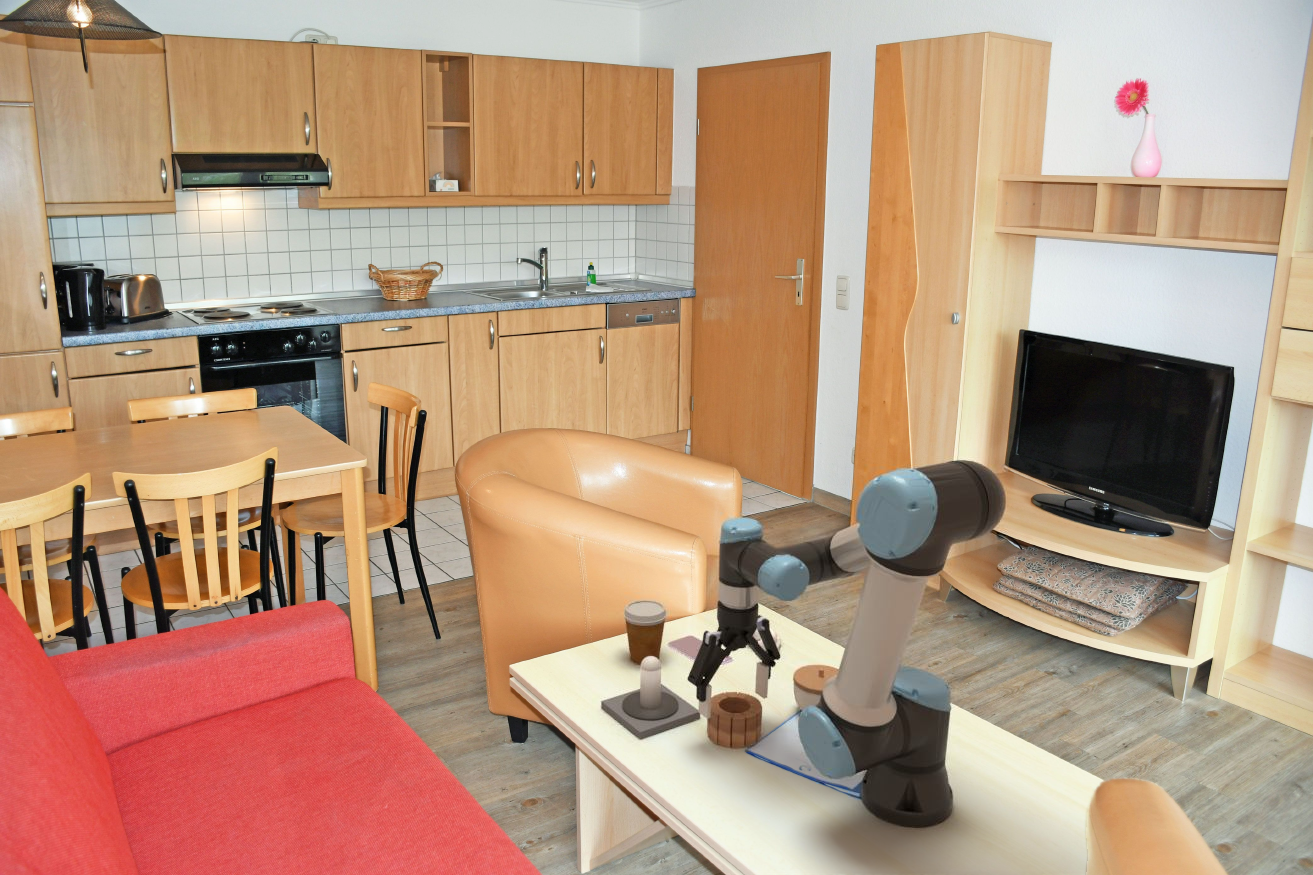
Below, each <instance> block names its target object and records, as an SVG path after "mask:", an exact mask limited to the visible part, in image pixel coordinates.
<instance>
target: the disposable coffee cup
mask: <svg viewBox="0 0 1313 875" xmlns="http://www.w3.org/2000/svg"><path fill="white" fill-rule="evenodd" d="M622 615H623V618H624V620H625V626H626V634H627V641H628V642H627V643H628V649H629V651H628V652H629V656H630V658H629V659H630V661H631V662H632V663H633V664H635V663H636V664H635V665H638V664H639V666H641V662H642V660H643V659H644V658H646V657H648V656H654V657H656V658H657V659H658V660H659V661H660V655H661V650H662V642H663V635H664V629H665V620H666V618H667V617H668V612H667V610H666V606H665V605H664V604H662V602H659V601H656V600H653V599H652V600H651V599H645V600H644V599H640V600H634V601H631V602H629V603H627V604H626V606H625V607H624V610H623V612H622Z"/></svg>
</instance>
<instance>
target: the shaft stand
mask: <svg viewBox="0 0 1313 875" xmlns="http://www.w3.org/2000/svg"><path fill="white" fill-rule="evenodd" d="M639 673H640V680H639V681H640V682H639V684H640V686H639V689H635V690H632V691H629V692H626V693H623V694H620V695H616V696H613V697H610V698H606V699H603V700H601V701H600V708H601V709H602V710H603V711H604V712H605V713H607V714H608V715H609V716H610V717H612V718H613V719H614V720H616V721H617V722H618V723H619V724H621V726H623V727H624V728H625V729H627V730H628V731H629V732H631V734H632V735H634V736H636V737H637V739H638V740H643V739H646V738H648V737H651V736H654V735H657V734H660V733H663V732H665V731H668V730H671V729H675V728H676V727H680V726H683V725H686V724H688V723H691V722H693V721H696V720H700V719H701V714H700V713H699V712H698V711H699V708H696V707H694V706H693V705H692V704H691V703H689V702H687V700H685V699H683V698H682V697H681V696H680V695H678V694H677V693H675V692H673V691H672V690H671V689H669V688H668V687H667V686H665V685H664V684H662V664H661V660H660V659H659V660H658V659H657V658H656V657H654V656H648V657H646V658H644V659H643V660H642V662H641V665H640V672H639Z"/></svg>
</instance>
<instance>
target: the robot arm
mask: <svg viewBox="0 0 1313 875" xmlns="http://www.w3.org/2000/svg"><path fill="white" fill-rule="evenodd" d="M1006 496H1007V495H1006V491H1005V488H1004V486H1003V483H1002V482H1001V480H1000V478H999V477H998V476H997V474H996V473H995V472H993V470H992V469H990V468H988V467H987V466H985V465H984V464H982V463H979V462H977V461H976V462H975V461H973V460H965V459H956V460H950V461H946V462H941V463H935V464H930V465H925V466H919V467H914V468H909V467H908V468H905V467H904V468H903V467H902V468H897V469H895V470H892V471H890V472H887V473H883V474H881V475H879V476H876V477H874V478H872V480H870V481H869V482H868V483H867V484H866V485H865V487H864V488H863V490H862V491H861V493H860V495H859V496H858V497H859V498H858V500H857V504H856V507H855V508H856V510H855V522H856V523H855V524H853V525H852V524H851V525H850V526H848V527H846V528H844V529H841V530H839V531H837V532H835V533H832V534H831V535H828V536H825V537H823V538H818V539H814V540H810V541H804V542H799V543H795V544H791V545H786V546H780V547H778V546H777V547H776V546H774V545H772V544H770V543H769V542H767V541H765V540H764V539H763V537H764V534H763V533H764V532H763V526H762V524H761V522H760V521H758V520H756V519H753V518H750V517H741V516H740V517H733V518H728V519H727V520H725V521H724V522H723V523H722V525H721V528H720V536H719V538H720V539H719V542H718V544H719V546H718V547H719V548H718V550H719V552H718V553H719V556H718V585H717V586H718V587H717V598H718V600H717V604H716V605H717V610H716V611H717V612H716V619H717V623H718V627H717V629H716V631H713V632H710V631H708V630H705V631H704V632H703V637H702V641H703V642H702V645H701V647H700V650H699V652H698V654H697V657H696V659H695V661H693V664H692V666H691V670H689V671H690V672H689V674H688V676H687V681H688V682H689V683H690V684H692V685H693V686H695V687H696V689H695V690H696V693H695V696H696V697H695V698H696V700H698V710H699V711H698V712H699V713H700V716H701V715H702V716H703V717H704V718H705V719H706V720H707V719H708V718H710V717H711V698H712V689H713V688H712V687H713V686H712V685H711V684H710V683H711V681H712V679H713V678H714V676H715V674H716V673H717V671H718V670H719V669H720V667H721V666H722V665H721V664H722V662H723V660H724V659H725V657H727V656H730V655H731V653H732V652H735V651H737V650H739V649H745V648H747V647H749V648H750V649H751V651H752V652H753V653H754V654H755V655H756V657H758V659H759V660H760V661H756V670H755V673H756V674H755V685H754V686H755V688H754V693H755V694H757V696H759V697H761V698H762V699H767V698H768V691H769V689H768V688H769V680H770V679H771V675H772V674H771V673H772V668H775V667H776V664H777V663H776V660H777V661H779V660H780V659H781V654H780V651H778V648H777V646H776V643H775V641H774V639H773V636H772V634H771V631H770V627H771V626H770V620H769V619H768V618H765V617H764V616H762V615H761V614H759V608H760V606H759V603H758V602H760V601H759V600H760V589H761V591H763V592H764V593H765V594H767V595H769V596H770V597H774V598H776V599H778V600H780V601H784V602H792V601H794V600H796V599H798V597H799V596H800V595H803V594H804V593H805V591H806V590H807V587H809V586H812V585H816V584H819V583H823V582H828V581H832V580H833V581H834V580H836V579H837V580H838V579H844V578H848V577H851V576H853V575H857V574H860V572H862V571H863V570H864V569H866V568H867V571H866V574H865V576H864V577H865V578H864V581H863V585H862V589H861V591H860V594H859V597H858V602H857V606H856V609H855V613H854V615H853V618H852V622H851V626H850V629H849V633H848V636H847V640H846V644H845V647H844V650H843V654H842V657H841V660H840V664H839V668H838V669H839V671H838V674H837V675H835V676H833V677H831V678H829V679H828V680H827V682H826V683H825V685H824V687H823V691H822V694H821V698H820V701H819V703H818V704H817V705H815V706H813V705H811V706H808V707H807V708H806V709H804V710H803V711H802V710H801V712H800V714H799V717H798V722H797V727H798V730H797V731H798V735H799V736H798V737H799V740H800V743H801V746H802V749H803V750H804V753H805V754H806V757H807V759H808V760H809V762H810V763H811V765H812V766H813V767H814V768H815V769H816V771H818V772H819V773H820V774H822V775H823V776H824V777H826V778H827V779H832V780H839V779H840V780H841V779H843V778H846V777H847V778H848V777H854V776H855V775H857V774H860V773H862V772H865V773H864V775H863V777H862V780H861V783H860V784H861V787H860V798H861V802H862V803H863V804H864V806H865V808H867V810H868V811H869V812H870V813H872V814H873V815H874V816H876V817H878V818H879V819H881V820H884V821H886V822H888V823H892V824H893V825H894V824H895V825H898V826H904V827H912V828H921V827H930V826H936V825H939V824H940V823H942V822H944V821H945V820H946V819H948V818H949V817H950V815H951V814H952V810H953V803H954V794H953V789H952V786H951V785H950V783H949V775H948V770H947V767H946V758H947V757H946V756H947V747H948V738H949V737H948V736H949V729H950V718H951V711H952V704H951V700H952V699H951V698H952V697H951V695H952V693H951V692H952V691H951V689H950V687H949V685H948V683H947V682H946V681H945V680H944V679H943V678H941V677H940V676H938V675H937V674H934V673H932V672H930V671H928V670H924V669H923V668H922V669H921V668H918V667H913V666H907V665H902V662H903V659H904V655H905V652H906V650H907V646H908V644H909V643H908V642H909V640H910V636H911V634H912V631H913V628H914V624H915V621H916V620H917V619H916V618H917V615H918V612H919V609H920V607H921V606H920V605H921V603H922V600H923V597H924V593H925V591H926V588H927V585H928V582H929V578H933V577H936V576H938V575H939V574H940V573H941V572H942V571H943V570H944V568H945V565H946V562H947V558H948V556H949V552H950V549H951V547H952V546H953V545H956V544H960V543H963V542H968V541H971V540H974V539H975V540H976V539H978V538H981V537H984V536H985V535H987V534H989V533H991V531H993V530H994V529H995V528H996V527H997V526H998V525H999V523H1000V522H1001V520H1002V518H1003V516H1004V513H1005V510H1006V504H1007V498H1006ZM756 629H757V630H758V632H759V635H760V637H761V639H762V642H763V644H764V646H765V649H766V651H764V649H763V648H762V647H761V646H760V645H759V644H758V641H759V640H756V639H755V638H754V637H753V635H754V633H755V631H756ZM722 646H723V647H724V648H722ZM720 665H721V666H720Z"/></svg>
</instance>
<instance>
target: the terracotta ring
mask: <svg viewBox="0 0 1313 875" xmlns="http://www.w3.org/2000/svg"><path fill="white" fill-rule="evenodd" d="M706 720H707V721H706V723H707V724H706V733H707V737H708V739H709V740H711V741H712V742H713V743H714V744H716V745H718V746H721V747H726V748H728V749H729V748H730V749H741V748H742V749H744V748H747V747H750V746H754V745H755V743H756V744H757V743H758V742H759V741H760V739H761V737H762V724H763V722H762V720H763V706H762V703H761V700H759V699H758V698H756V697H755V696H753V695H751V694H749V693H745V692H741V691H725V692H720V693H719V694H714V695H713V696H711V717H710V718H708V719H707V718H706Z"/></svg>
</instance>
